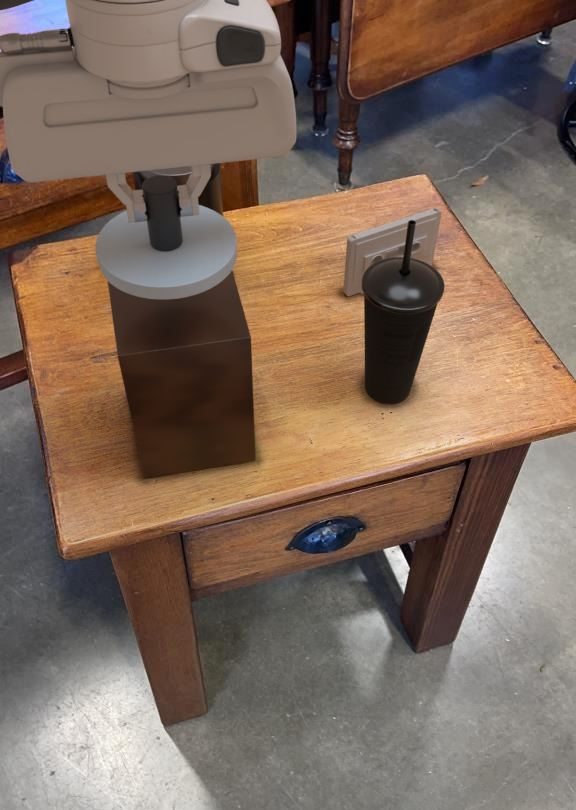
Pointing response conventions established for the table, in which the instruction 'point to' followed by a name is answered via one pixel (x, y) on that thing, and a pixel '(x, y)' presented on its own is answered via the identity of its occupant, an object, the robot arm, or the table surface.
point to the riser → (187, 378)
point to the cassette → (389, 246)
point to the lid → (166, 247)
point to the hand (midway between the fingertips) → (163, 214)
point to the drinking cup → (397, 321)
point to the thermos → (210, 193)
